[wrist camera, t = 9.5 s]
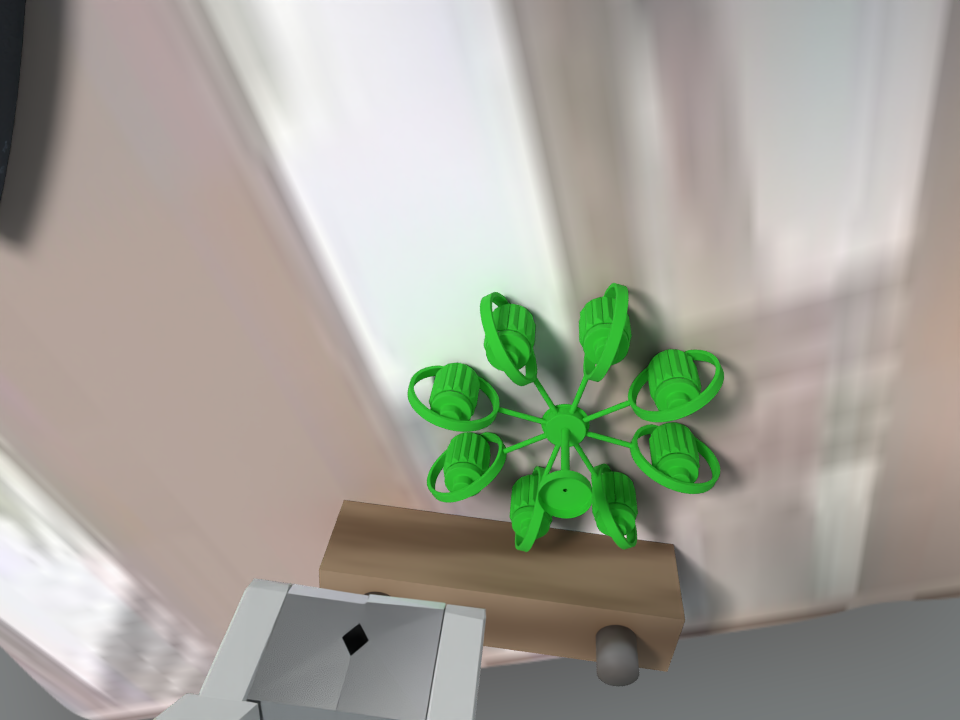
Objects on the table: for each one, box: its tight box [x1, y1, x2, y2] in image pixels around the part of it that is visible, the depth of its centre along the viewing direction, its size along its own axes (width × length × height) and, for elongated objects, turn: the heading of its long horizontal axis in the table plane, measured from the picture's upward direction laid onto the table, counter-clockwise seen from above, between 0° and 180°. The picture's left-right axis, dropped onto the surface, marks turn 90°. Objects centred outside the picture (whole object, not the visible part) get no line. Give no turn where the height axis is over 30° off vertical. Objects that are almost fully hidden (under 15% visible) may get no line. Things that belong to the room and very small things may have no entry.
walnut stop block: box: [319, 500, 685, 686], centre depth 40 cm, size 4×18×7 cm, turn 85°
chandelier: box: [408, 283, 724, 552], centre depth 35 cm, size 15×15×7 cm
